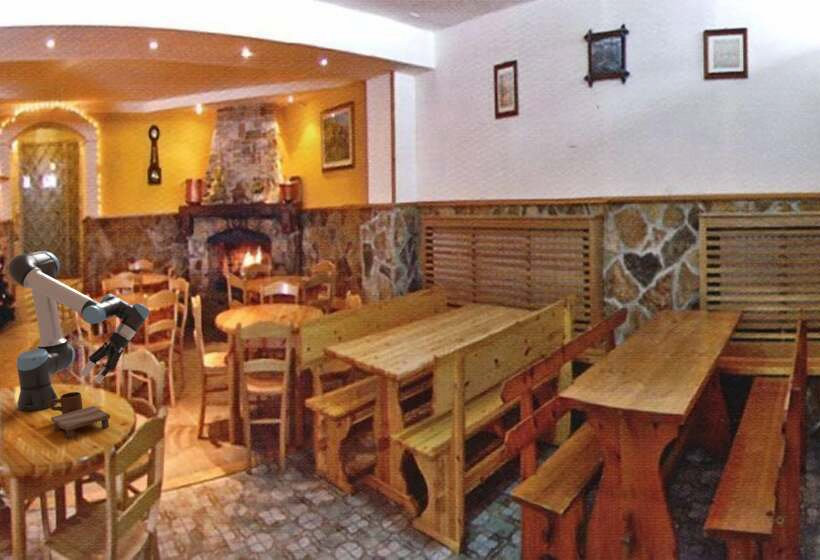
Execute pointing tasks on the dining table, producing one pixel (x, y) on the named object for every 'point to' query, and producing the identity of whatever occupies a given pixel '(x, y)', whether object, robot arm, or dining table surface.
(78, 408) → the mug
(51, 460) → the dining table surface
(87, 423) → the brown wooden bench
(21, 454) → the dining table surface
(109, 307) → the robot arm
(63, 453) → the dining table surface
